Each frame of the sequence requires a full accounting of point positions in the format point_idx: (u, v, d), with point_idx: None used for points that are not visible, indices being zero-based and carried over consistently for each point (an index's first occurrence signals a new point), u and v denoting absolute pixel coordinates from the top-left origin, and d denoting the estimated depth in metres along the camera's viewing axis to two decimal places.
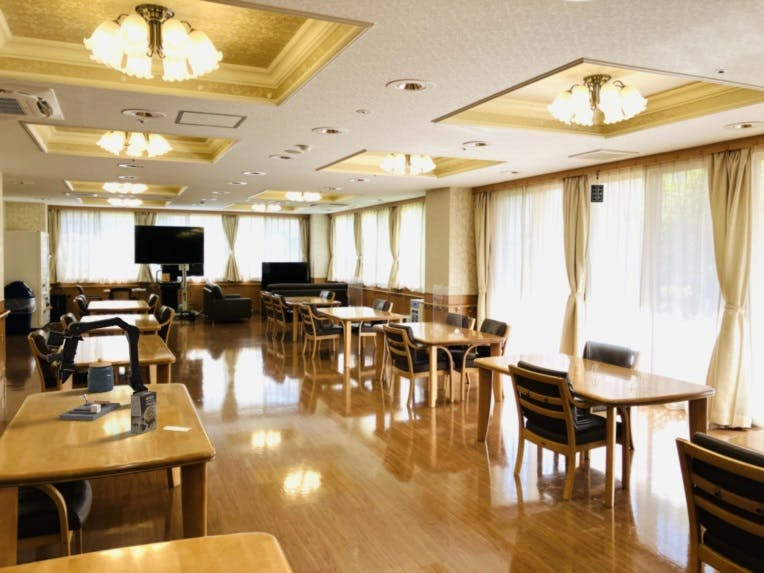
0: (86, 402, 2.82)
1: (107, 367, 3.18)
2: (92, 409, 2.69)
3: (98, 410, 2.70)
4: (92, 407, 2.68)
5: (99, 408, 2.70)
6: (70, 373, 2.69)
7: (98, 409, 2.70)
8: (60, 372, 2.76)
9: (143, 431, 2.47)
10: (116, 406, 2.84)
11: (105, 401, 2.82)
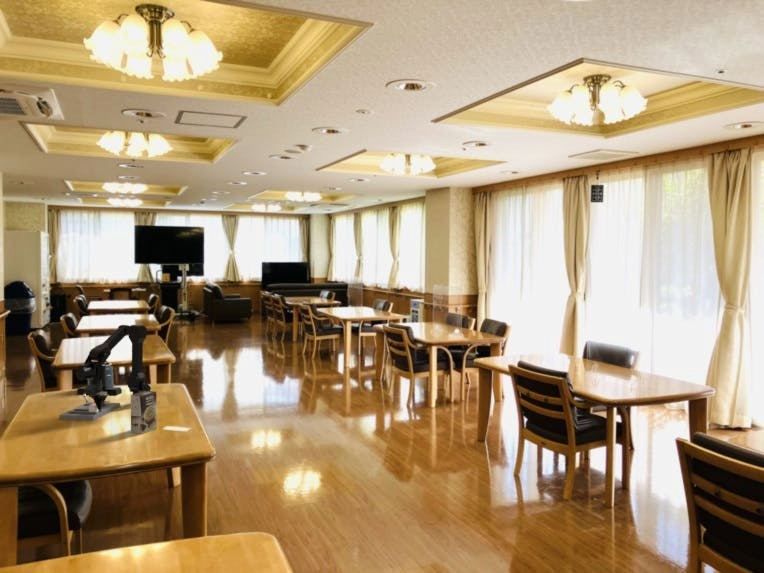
0: (86, 402, 2.82)
1: (107, 367, 3.18)
2: (90, 409, 2.69)
3: (96, 410, 2.70)
4: (90, 407, 2.69)
5: (97, 408, 2.70)
6: (105, 397, 2.71)
7: (96, 409, 2.70)
8: (98, 402, 2.69)
9: (143, 431, 2.47)
10: (116, 406, 2.84)
11: (105, 401, 2.82)
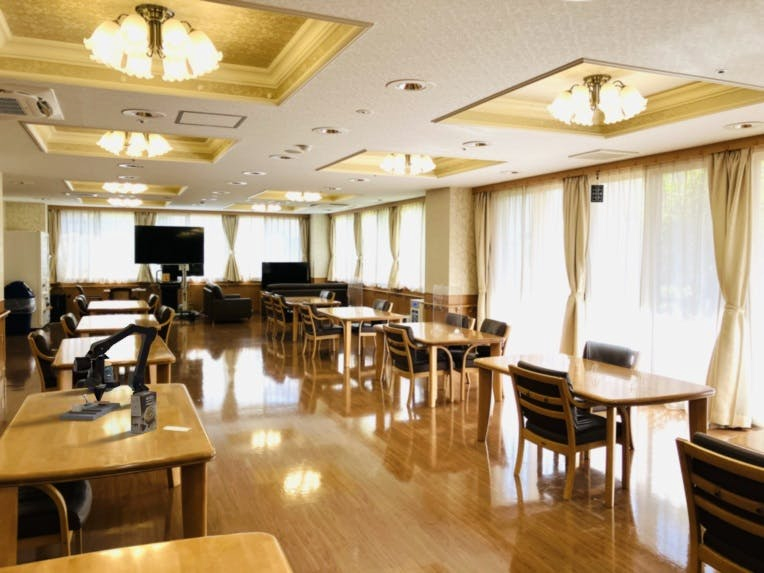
0: (86, 402, 2.82)
1: (107, 367, 3.18)
2: (73, 408, 2.69)
3: (79, 409, 2.70)
4: (73, 406, 2.69)
5: (80, 407, 2.71)
6: (104, 389, 2.81)
7: (79, 408, 2.70)
8: (97, 394, 2.79)
9: (143, 431, 2.47)
10: (116, 406, 2.84)
11: (105, 401, 2.82)
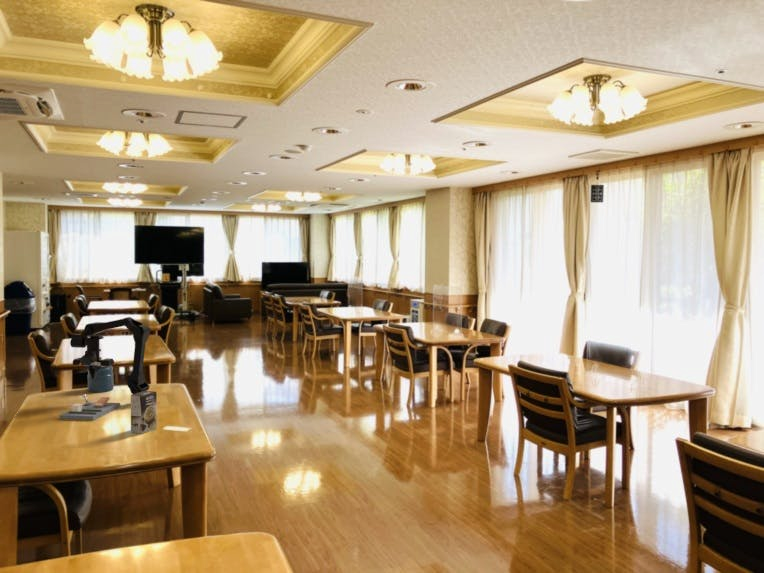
0: (86, 402, 2.82)
1: (107, 367, 3.18)
2: (73, 408, 2.69)
3: (79, 409, 2.70)
4: (73, 406, 2.69)
5: (80, 407, 2.71)
6: (99, 367, 2.96)
7: (79, 408, 2.70)
8: (92, 372, 2.94)
9: (143, 431, 2.47)
10: (116, 406, 2.84)
11: (105, 402, 2.82)
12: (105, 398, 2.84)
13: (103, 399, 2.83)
